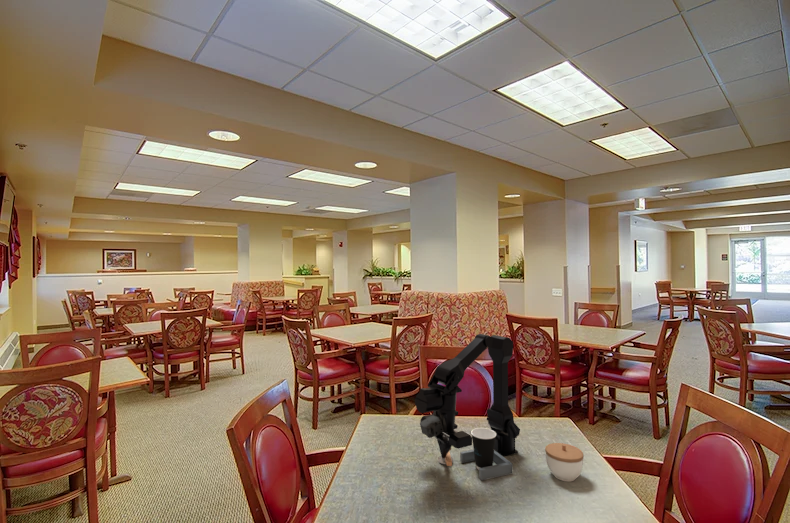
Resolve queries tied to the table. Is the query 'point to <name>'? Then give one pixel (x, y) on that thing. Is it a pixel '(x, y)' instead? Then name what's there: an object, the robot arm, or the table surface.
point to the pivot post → (443, 460)
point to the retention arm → (448, 459)
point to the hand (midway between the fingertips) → (443, 457)
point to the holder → (491, 471)
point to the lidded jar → (564, 461)
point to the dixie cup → (483, 446)
